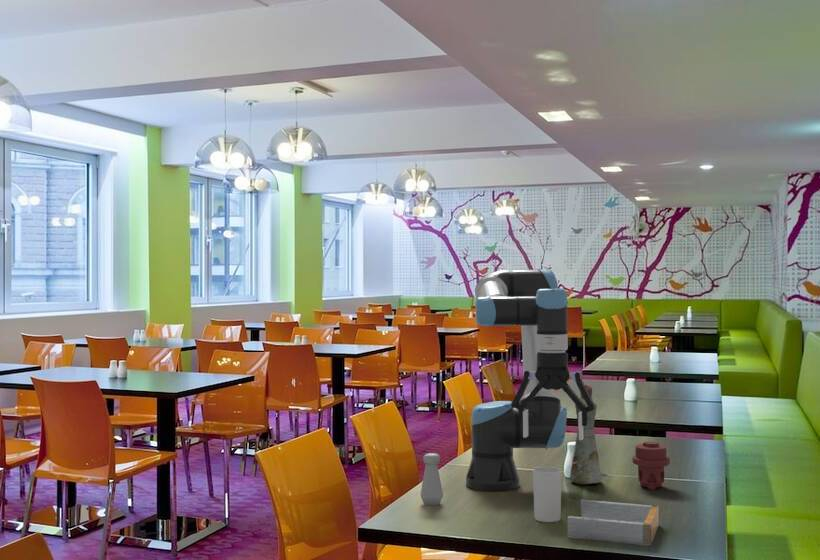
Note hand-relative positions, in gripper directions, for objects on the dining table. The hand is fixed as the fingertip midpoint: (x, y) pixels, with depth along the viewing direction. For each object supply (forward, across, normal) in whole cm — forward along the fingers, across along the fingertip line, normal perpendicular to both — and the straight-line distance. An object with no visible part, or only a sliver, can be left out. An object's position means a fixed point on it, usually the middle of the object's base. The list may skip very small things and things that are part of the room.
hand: (553, 438), depth 212 cm
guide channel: (+19, +15, -9) cm, 26 cm away
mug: (+19, -1, -1) cm, 19 cm away
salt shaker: (+19, -32, +2) cm, 38 cm away
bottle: (+19, +2, +38) cm, 42 cm away
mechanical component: (+19, +20, +38) cm, 47 cm away
